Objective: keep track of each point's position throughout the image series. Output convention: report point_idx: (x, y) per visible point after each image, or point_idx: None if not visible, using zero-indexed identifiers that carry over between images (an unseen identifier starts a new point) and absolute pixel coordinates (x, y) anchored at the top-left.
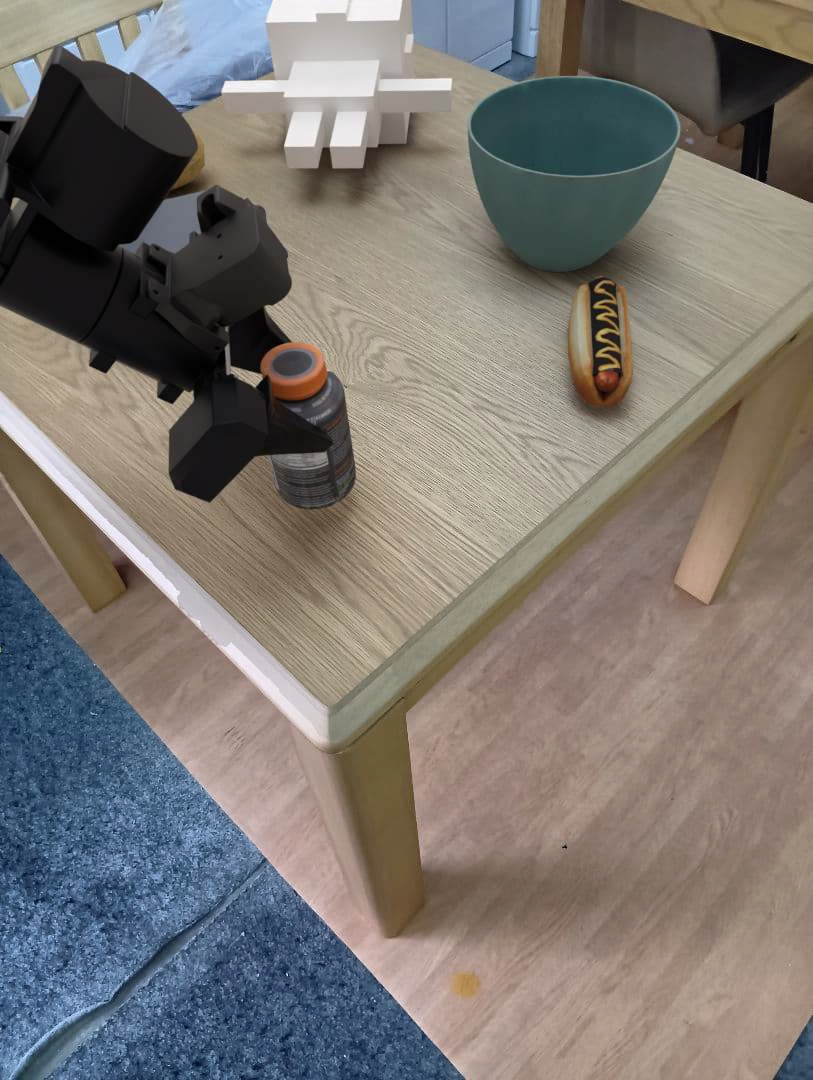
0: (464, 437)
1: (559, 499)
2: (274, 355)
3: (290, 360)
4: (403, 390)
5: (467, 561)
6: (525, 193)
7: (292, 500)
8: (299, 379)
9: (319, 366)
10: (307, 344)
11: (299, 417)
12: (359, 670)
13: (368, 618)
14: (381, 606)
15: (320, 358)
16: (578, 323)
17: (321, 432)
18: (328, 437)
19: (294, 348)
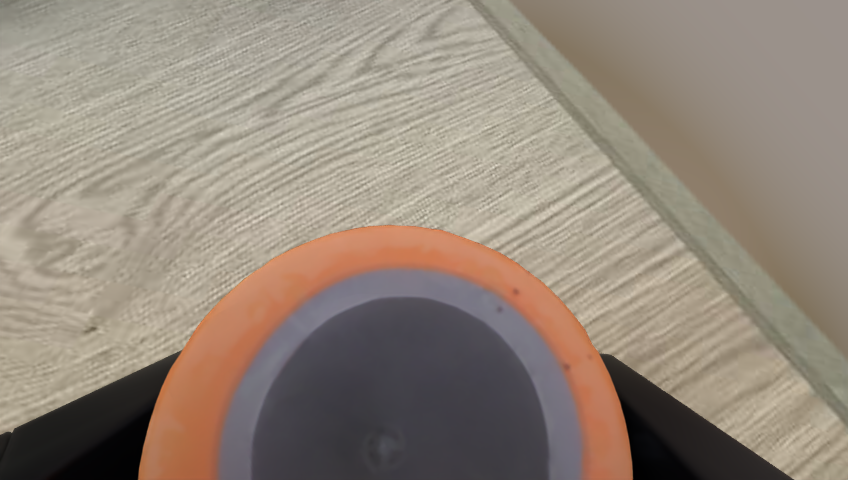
0: (333, 147)
1: (509, 57)
2: None
3: (364, 456)
4: (165, 218)
5: (611, 209)
6: None
7: None
8: (603, 418)
9: (493, 258)
10: (238, 300)
11: (720, 478)
12: (844, 450)
13: (724, 408)
14: (697, 376)
15: (409, 241)
16: None
17: (633, 384)
18: (615, 364)
19: (235, 401)
